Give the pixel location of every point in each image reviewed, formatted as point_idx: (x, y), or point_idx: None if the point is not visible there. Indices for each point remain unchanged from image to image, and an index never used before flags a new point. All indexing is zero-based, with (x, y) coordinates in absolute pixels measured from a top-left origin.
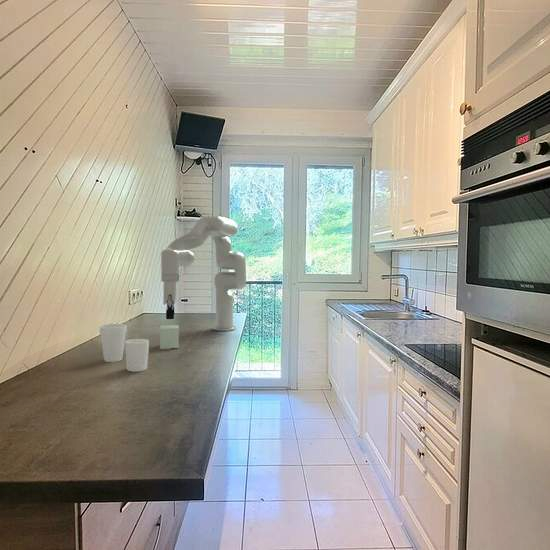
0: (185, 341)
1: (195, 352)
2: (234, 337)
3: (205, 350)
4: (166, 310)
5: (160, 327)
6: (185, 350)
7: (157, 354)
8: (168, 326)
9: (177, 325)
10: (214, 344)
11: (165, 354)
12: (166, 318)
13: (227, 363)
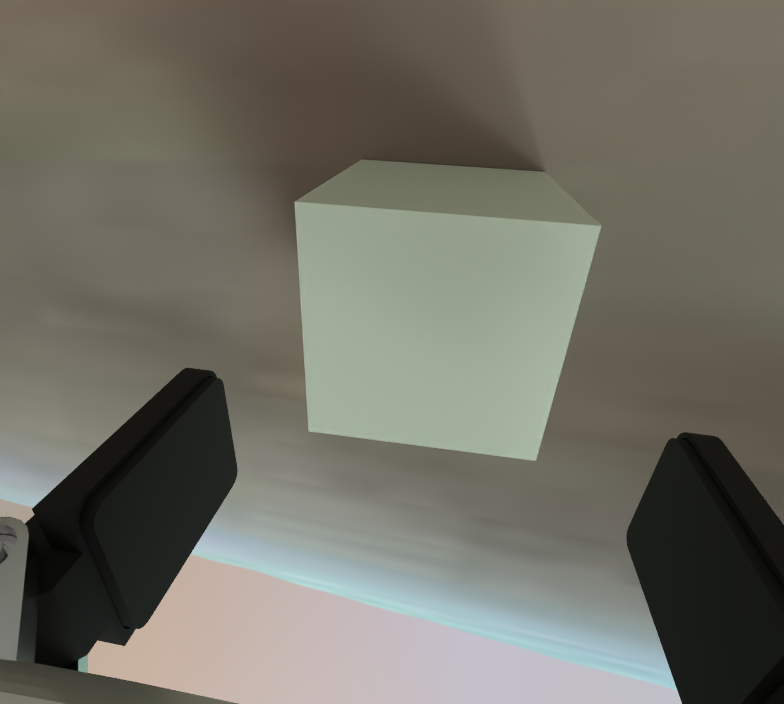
0: (620, 401)
1: (232, 410)
2: (612, 659)
3: (284, 467)
4: (47, 503)
5: (389, 212)
6: (292, 361)
7: (160, 135)
8: (457, 334)
9: (511, 444)
10: (443, 539)
11: (165, 207)
12: (186, 375)
13: (24, 496)
